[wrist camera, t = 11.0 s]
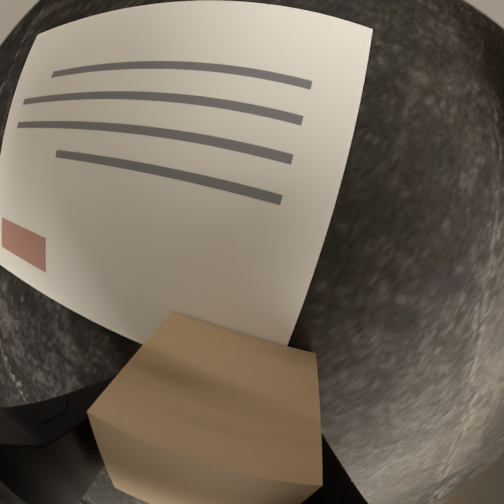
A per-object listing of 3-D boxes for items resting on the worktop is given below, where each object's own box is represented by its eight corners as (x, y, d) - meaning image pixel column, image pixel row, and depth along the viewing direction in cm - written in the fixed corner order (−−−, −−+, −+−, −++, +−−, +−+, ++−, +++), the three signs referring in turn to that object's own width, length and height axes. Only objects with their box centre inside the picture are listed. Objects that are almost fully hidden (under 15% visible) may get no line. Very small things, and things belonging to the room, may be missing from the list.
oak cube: (272, 435, 10) (257, 532, 5) (163, 402, 10) (114, 487, 6) (315, 353, 9) (322, 485, 4) (172, 310, 9) (86, 411, 4)
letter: (270, 385, 9) (270, 387, 9) (-3, 261, 10) (-5, 261, 10) (372, 30, 6) (372, 28, 6) (38, 34, 7) (37, 34, 7)
